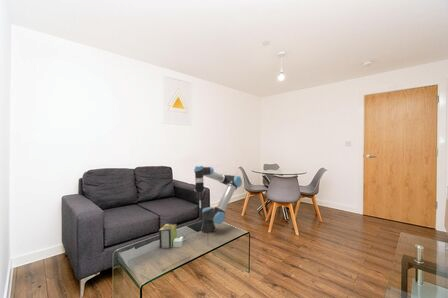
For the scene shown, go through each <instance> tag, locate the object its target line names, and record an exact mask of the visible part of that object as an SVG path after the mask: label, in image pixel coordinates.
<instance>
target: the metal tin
mask: <svg viewBox="0 0 448 298" xmlns="http://www.w3.org/2000/svg"><path fill="white" fill-rule="evenodd" d="M177 238H183V243H184V242H185V241H186V235H184V234H180V235H178V236H177Z"/></svg>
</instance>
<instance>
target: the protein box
mask: <svg viewBox="0 0 448 298" xmlns="http://www.w3.org/2000/svg"><path fill="white" fill-rule="evenodd" d="M158 234H159V249H172V248H173V241H174V239H175V238H178V236H177V235H178V234H177V223H165V224H164V225H163V226H162V227H160V229H159V230H158Z"/></svg>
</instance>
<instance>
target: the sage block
mask: <svg viewBox="0 0 448 298" xmlns="http://www.w3.org/2000/svg"><path fill="white" fill-rule="evenodd" d="M183 243H184V242H183V238H178V237H177V238H175V239H174V241H173V246H172V248H182V247H183Z"/></svg>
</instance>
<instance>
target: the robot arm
mask: <svg viewBox="0 0 448 298" xmlns="http://www.w3.org/2000/svg"><path fill="white" fill-rule="evenodd" d="M193 171H194V176H195V179H194V180H195V186H194V187H195V188H194V189H193V190H192V192H193V194H194V198H195V200H196V201H197V204H198V205H199V209H201V208H202V205H203V201H204V200H205V195H206V192H207V189H206V188H205V186H204V177H207V178H209V179H211V180H213V181H217V182H219V183H220V184H223V185H226V189H225V190H224V193H223V194H222V196H221V199H220V200H219V201H218V204H217V206H215V207H213V206H209V207H203V209H202V210H201V213H202V214H201V215H202V216H201V217H202V224H201V228H200V231H201V232H202V233H204V232H211V233H213V232H212V231H214V230H215V229H216V230H217V228H216V225H217V224H218V225H220V224H223V223H224V222H225V219H226V209H227V207H228V204H229V202H230V201H231V198H232V197H233V194H234V193H235V191H237V189H238V188H240V187H241V186H242V184H243V180H242V178H241V176H239V175H231V174H230V175H229V174H223V173H221V174H220V173H218V172H215V170H214V167H212V166H203V165H195V167H194V170H193ZM196 192H197V193H196ZM215 224H216V225H215ZM216 230H215V231H216ZM215 231H214V232H215Z"/></svg>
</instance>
